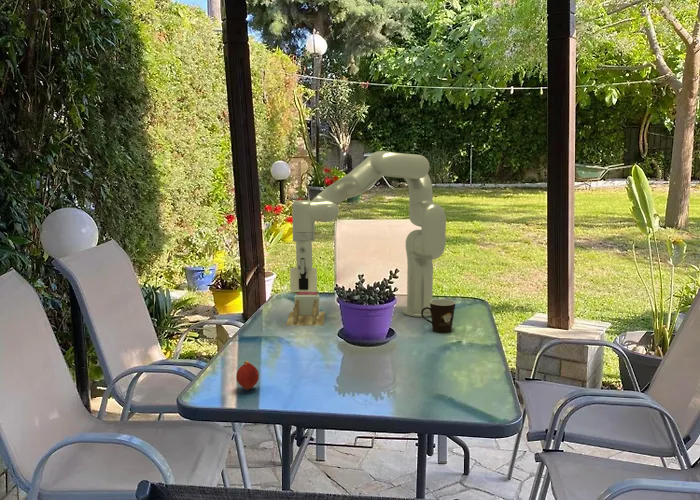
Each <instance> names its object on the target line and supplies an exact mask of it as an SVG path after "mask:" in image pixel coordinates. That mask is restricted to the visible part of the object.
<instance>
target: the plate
mask: <svg viewBox="0 0 700 500" xmlns="http://www.w3.org/2000/svg"><path fill="white" fill-rule="evenodd" d="M293 298H294V303H293V304H295V303H296V300H299V315H312V307H313V304H314V300H317V315H319V314H320V312H321V310H320V308H321V307H320V306H321V305H320V304H321V303H320V294H318V295H296V294H294V297H293ZM294 307H295V305H294Z"/></svg>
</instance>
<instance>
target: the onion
mask: <svg viewBox="0 0 700 500" xmlns="http://www.w3.org/2000/svg"><path fill="white" fill-rule="evenodd" d="M243 363H244V364H242V365H241V366H240V367H239V368H238V370H237V371H236V381H237V383H238V385H239V386H240V387H242V388H244V389H245V390H246V391H247V390H248V391H250V390H251V389H252V388H254V387H255V386H256V385H257V383H258V381H259V378H260V376H259V370H258V368H257V367H256V366H254V365H253V364H252V363H251V362H249V361H248V360H244V362H243Z"/></svg>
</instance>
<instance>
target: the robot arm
mask: <svg viewBox="0 0 700 500" xmlns="http://www.w3.org/2000/svg"><path fill="white" fill-rule="evenodd" d="M430 166H431V165H430V161H429V160H428V158H426V157H425V156H424V155H422V154H415V153H413V154H412V153H402V152H393V151H382V150H380V151H379V150H377V151H375V152H373V153H371V154H370V155H368V156H367V157H366V158H365V159H364V160H362V162H361V163H359V164H358V165H357V166H356V167H354V168H353V169H352V170H351V171H350V172H349V173H347V174H345V175H344V176H343V177H341V178H339V179H338V180H336V181H334V182H333V183H331V184H330V185H328V186H327V187H326V188H324V189H323V190H321V192H320V193H318V194H317V195H316V196H315V197H314V198H313V199H312V200H306V199H304V200H295V201H293V203H292V207H291V208H292V241H293V242H295V248H296V249H295V250H296V251H295V256H296V268H297V269H298V270H299V290H308V278H307V271H308V270H307V269H309V270H311V269H312V268H313V242H315V239H316V238H315V236H316V235H315V233H316V232H315V229H316V227H315V222H321V223H322V222H323V223H330V222H333V221H335V220H336V218H337V217H338V216H339V214H340V213H339V206H338V205H339V204H340V203H342V202H344V201H346V200H349V199H351V198H354V197H358V196H361V195H362V194H364V193H365V192H366V191H367V190H368V189H370V188H371V187H372V186H373V185H374V184H375V183H377V182H378V181H379V180H380V179H381V178H383V177H389V178H399V179H404V180H405V183H407V187H408V193H409V194H408V195H409V196H408V197H409V198H408V201H409V202H408V204H409V205H408V216H409V217H408V218H409V221H410V222H411V223H412V224H413V225H414V226H416V227H420V229H414V230H412V231H410V232H409V233H408V235H407V236H406V239H405V252H406V259H407V260H406V261H407V270H406V271H407V272H406V273H407V278H406V279H407V281H406V285H407V286H406V306H405V307H404V308H403V309H402V313H403V314H404V315H406V316H410V317H414V318H415V317H416V318H417V317H418V318H423V317H422V315H421V311H422V309H423V308H425V307H429V308H431V307H430V301H431V300H433V290H434V289H433V287H434V286H433V282H434V281H433V278H434V263H433V260H437V259H439V258H440V257H442V255H443V253H444V251H445V250H446V249H445V248H446V235H447V234H446V232H447V231H446V229H447V227H446V224H447V221H446V220H447V218H446V213H445V211H444V208H443V207H442V206H441V205H439V204H437V203H435V202H434V201H433V198H434V197H433V185H432V181H431V178H430V175H429V172H430ZM305 268H306V269H305ZM423 316H424V317H425V318H427V317H431V311H430V310H429V309H425V310H424V311H423Z"/></svg>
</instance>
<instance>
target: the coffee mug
mask: <svg viewBox="0 0 700 500" xmlns="http://www.w3.org/2000/svg"><path fill="white" fill-rule="evenodd" d="M430 307H431V308H429V307H425V308H423V309H422V311H421V315H422V317H421V318H423V319H424V320H425V321H427V322H429V323H430V324H431V325H432V332H434V333H437V334H448V333H451V332H452V329H453V322H454V315H455V308H456V301H454V300H452V299H448V298H447V299H446V298H445V299H444V298H437V299H432V300H431V301H430ZM425 309H429V310H430V311H431V316H430V317H431V320H429V319H428V318H427V317H424V316H423V311H424V310H425Z"/></svg>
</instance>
